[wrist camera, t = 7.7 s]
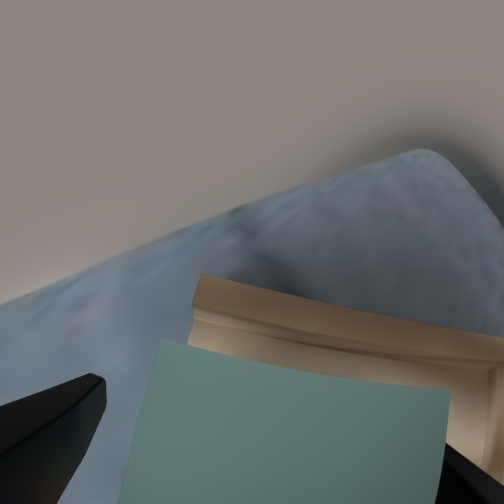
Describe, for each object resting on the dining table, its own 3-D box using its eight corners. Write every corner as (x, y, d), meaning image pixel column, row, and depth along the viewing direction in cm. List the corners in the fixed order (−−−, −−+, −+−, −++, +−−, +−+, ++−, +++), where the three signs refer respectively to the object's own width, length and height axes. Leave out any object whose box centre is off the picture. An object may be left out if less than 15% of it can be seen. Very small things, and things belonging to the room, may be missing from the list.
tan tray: (465, 559, 8) (490, 565, 6) (133, 563, 8) (121, 582, 6) (496, 352, 16) (520, 340, 14) (202, 295, 16) (201, 273, 14)
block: (282, 514, 11) (391, 620, 2) (170, 494, 11) (100, 601, 2) (304, 417, 13) (450, 388, 5) (195, 394, 13) (161, 337, 5)
